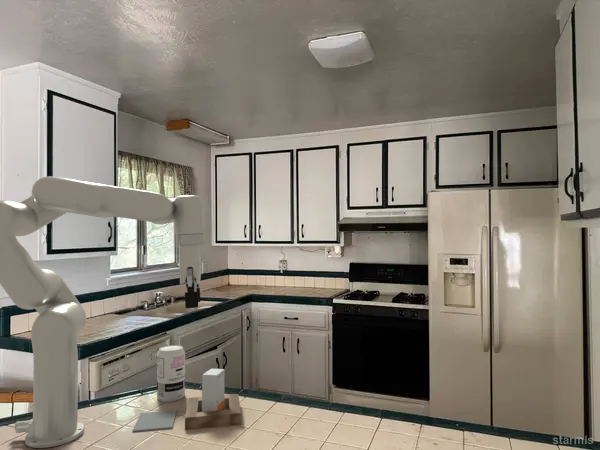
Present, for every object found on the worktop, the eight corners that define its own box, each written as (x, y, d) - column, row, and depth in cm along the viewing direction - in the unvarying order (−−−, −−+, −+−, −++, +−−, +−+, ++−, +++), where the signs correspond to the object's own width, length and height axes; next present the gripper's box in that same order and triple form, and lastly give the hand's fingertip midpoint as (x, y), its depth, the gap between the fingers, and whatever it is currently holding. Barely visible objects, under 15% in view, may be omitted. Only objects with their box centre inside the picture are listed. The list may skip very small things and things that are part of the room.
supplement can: (164, 392, 133) (164, 344, 133) (189, 393, 132) (189, 345, 132) (151, 402, 125) (152, 351, 125) (178, 403, 124) (178, 351, 124)
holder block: (184, 429, 106) (184, 417, 106) (188, 408, 120) (188, 397, 120) (240, 424, 108) (240, 412, 109) (238, 404, 122) (238, 393, 122)
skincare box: (216, 421, 111) (216, 375, 111) (201, 420, 111) (201, 374, 112) (225, 412, 117) (225, 368, 117) (210, 411, 117) (210, 368, 118)
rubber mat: (132, 432, 105) (132, 430, 105) (140, 414, 116) (140, 413, 116) (172, 428, 107) (172, 426, 107) (176, 411, 117) (176, 410, 117)
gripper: (179, 242, 121) (182, 301, 120) (171, 242, 104) (175, 311, 103) (205, 240, 122) (208, 299, 122) (202, 240, 105) (206, 308, 105)
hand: (193, 305), depth 113 cm, fingers open, 9 cm apart
